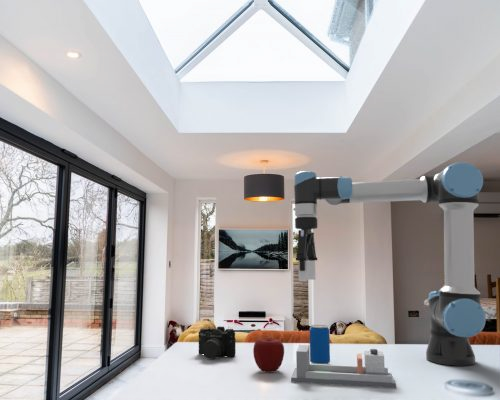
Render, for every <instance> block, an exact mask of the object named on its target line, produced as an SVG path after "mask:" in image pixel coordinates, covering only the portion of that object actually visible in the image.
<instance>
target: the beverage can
mask: <svg viewBox="0 0 500 400" xmlns="http://www.w3.org/2000/svg"><path fill="white" fill-rule="evenodd" d="M330 345H331V344H330V329H329V326H328V325H326V324H312V325H310V329H309V356H310V363H311V364H328V365H329V363H330V362H331V351H330V350H331V349H330V347H331V346H330Z"/></svg>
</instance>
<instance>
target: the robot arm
mask: <svg viewBox="0 0 500 400" xmlns="http://www.w3.org/2000/svg"><path fill="white" fill-rule="evenodd" d="M483 185H484V177H483V174H482V172H481V171H480V169H479V168H478V167H476V166H475V165H474V164H471V163H470V162H464V161H459V162H454V163H452V164H450V165H447V166H446V167H445V168H444V169H443V170H442V171H440V172H439V173H438V172H437V173H436V174H432V175H422V176H421V177H420V178H417V179H416V178H413V179H412V178H411V179H397V180H396V179H395V180H394V179H393V180H392V179H391V180H376V181H357V182H353V180H352V178H351V177H350V176H342V175H341V176H335V177H330V176H329V177H318V176H317V173H316V172H314V171H311V170H310V171H308V170H307V171H306V170H305V171H299V172H297V173H295V175H294V186H293V188H294V192H293V193H294V208H293V211H294V216H295V218H294V225H295V226H294V227H295V229H297V230H298V238H297V239H298V240H297V250H296V251H297V252H296V257H295V261H296V262H297V261H298V265H297V266H298V282H308V280H310V281H311V280H314V281H315V280H316V278H317V277H316V261H318V257H317V253H316V245H315V243H316V242H315V236H314V235H315V233H314V232H312V230H316V229H318V218H317V216H318V200H320V201H321V200H325V202H327V203H328V204H329V205H332V206H337V205H340V204H358V203H378V202H379V203H381V202H382V203H383V202H405V201H407V202H408V201H410V202H412V201H421V202H422V203H424V204H429V203H431V204H433V203H435V204H436V203H438V206H439V207H440V209H442V211H443V247H444V248H443V252H444V253H443V254H444V255H443V256H444V257H443V258H444V259H443V261H444V263H443V264H444V266H443V267H444V268H443V269H444V275H443V276H444V277H443V278H444V279H443V280H444V283H443V286H442V287H441V288H439V290H434V291H430V292H429V294H428V299H427V300H428V312H429V329H430V336H429V341H428V344H427V346H426V347H427V348H426V351H425V357H426V360H427V361H428V362H431V363H434V364H439V365H445V366H453V367H454V366H458V367H459V366H462V367H464V366H465V367H466V366H473V365H475V364H476V355H475V353H474V350H473V348H472V347H473V346H472V344H471V343H470V340H469V338H472V337H475V336H477V335H479V334H480V333H481V332H482V331H483V329H484V328H485V325H486V320H487V318H486V313H485V309H483V307H482V306H481V292H480V291H479V290H478V289H477V288H476V286H475V285H476V284H475V237H474V235H475V233H474V232H475V230H474V227H475V225H474V211H475V210H476V209H477V208H478V207H479V193H480V192H481V190H482V187H483Z"/></svg>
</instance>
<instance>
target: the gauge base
mask: <svg viewBox="0 0 500 400" xmlns="http://www.w3.org/2000/svg"><path fill="white" fill-rule="evenodd" d="M295 355H296V367H295V368H294V369H293V372H292V374H291V377H290V382H291V383H300V384H301V383H303V384H321V385H334V386H352V387H353V386H354V387H368V388H369V387H371V388H373V387H374V388H385V389H386V388H387V389H389V388H391V389H397V383H396V381H395V378H394V377H393V373H392V372H389V368H388V367H386V366H385V375H373V374H365V365H362V366H363V374H358V372H357V365H345V364H343V365H342V364H329V363H328V364H312V363H311V362H310V344H309V345H308V344H299V345H298V347H297V349H296V353H295Z"/></svg>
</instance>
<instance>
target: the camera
mask: <svg viewBox="0 0 500 400" xmlns="http://www.w3.org/2000/svg"><path fill="white" fill-rule="evenodd" d="M235 331H236V330H235V329H233V328H229V329H228V330H226V328H225V326H217V327H216V328H211V326H208V328H200V330H198V355H199V354H204V355H203V356H204V358H206V359H208V360H214V359H216V358H217V357H218V358H225V357H224V356H227V357H226V358H235V357H236V343H237V342H236V341H237V340H236V332H235ZM234 356H235V357H234Z"/></svg>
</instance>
